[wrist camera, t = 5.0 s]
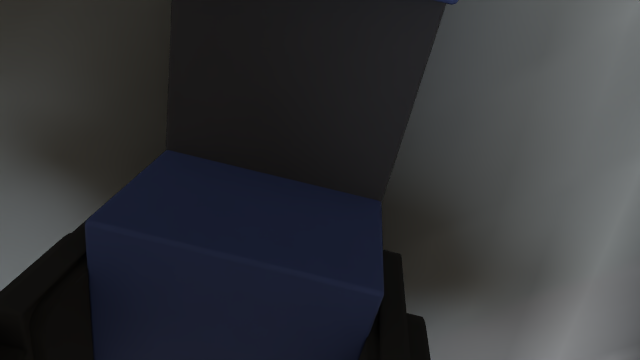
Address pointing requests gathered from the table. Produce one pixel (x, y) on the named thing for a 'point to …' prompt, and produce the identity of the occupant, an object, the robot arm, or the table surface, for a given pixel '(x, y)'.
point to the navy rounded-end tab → (262, 184)
